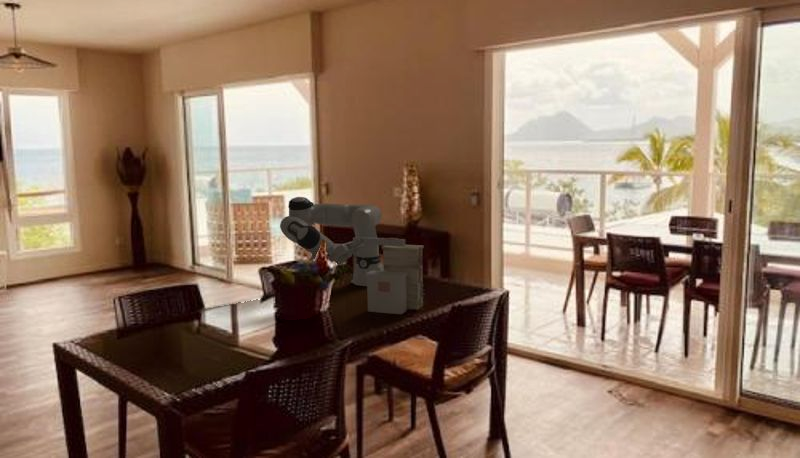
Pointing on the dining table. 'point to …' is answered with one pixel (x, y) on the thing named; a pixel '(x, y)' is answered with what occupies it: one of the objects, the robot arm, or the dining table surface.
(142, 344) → the dining table surface
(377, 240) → the bar
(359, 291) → the dining table surface
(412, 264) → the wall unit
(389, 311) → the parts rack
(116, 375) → the dining table surface
